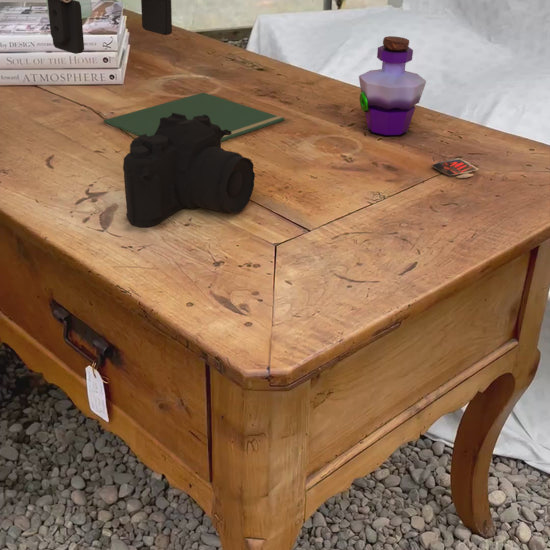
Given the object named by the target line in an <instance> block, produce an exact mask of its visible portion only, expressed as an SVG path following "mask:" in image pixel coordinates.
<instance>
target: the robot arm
mask: <svg viewBox="0 0 550 550" xmlns="http://www.w3.org/2000/svg"><path fill="white" fill-rule="evenodd" d="M140 3H141V4H140V5H141V6H140V7H141V27H142V29H143V30H145V31H148V32H150V33H155V34H159V35H163V36H169V35H171V34H172V31H173V18H172V16H173V15H172V14H173V13H172V0H140ZM47 10H48V18H49V31H50V36H51V38H52V45H53V47H54V48H56V49H58V50H62V51H64V52H68V53H71V54H75V55H78V54H82V53H83V52H84V51H85V42H84V29H83V16H82V4H81V3H80V1H78V0H47Z"/></svg>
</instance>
